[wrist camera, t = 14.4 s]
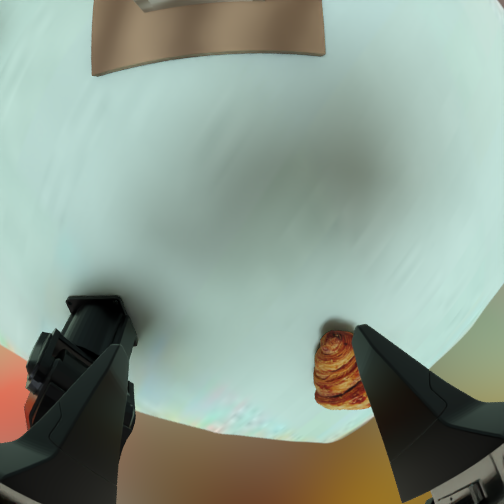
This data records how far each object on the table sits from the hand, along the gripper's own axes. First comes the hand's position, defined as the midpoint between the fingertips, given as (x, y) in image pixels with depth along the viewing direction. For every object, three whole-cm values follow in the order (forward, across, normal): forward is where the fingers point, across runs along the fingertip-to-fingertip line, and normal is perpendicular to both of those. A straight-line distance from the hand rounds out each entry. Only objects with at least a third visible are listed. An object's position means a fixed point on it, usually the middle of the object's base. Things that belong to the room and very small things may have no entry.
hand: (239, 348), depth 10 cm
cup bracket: (+13, +1, -20) cm, 24 cm away
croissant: (+14, -13, +22) cm, 29 cm away
